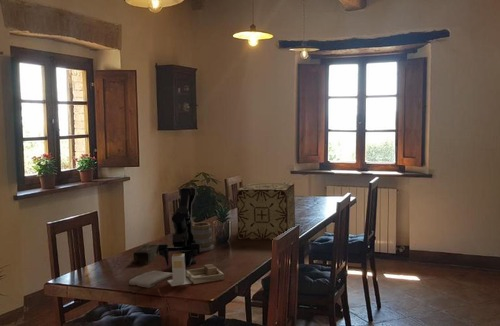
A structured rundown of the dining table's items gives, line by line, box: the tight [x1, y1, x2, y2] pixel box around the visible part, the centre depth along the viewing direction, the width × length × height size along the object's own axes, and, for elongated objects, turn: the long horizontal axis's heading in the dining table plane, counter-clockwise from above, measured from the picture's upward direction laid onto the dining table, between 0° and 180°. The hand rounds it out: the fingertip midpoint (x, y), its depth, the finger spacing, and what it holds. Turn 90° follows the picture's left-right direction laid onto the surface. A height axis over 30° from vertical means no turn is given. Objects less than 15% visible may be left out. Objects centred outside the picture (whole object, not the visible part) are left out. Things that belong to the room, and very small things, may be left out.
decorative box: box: [236, 182, 296, 241], centre depth 317 cm, size 30×30×30 cm
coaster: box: [166, 277, 192, 287], centre depth 226 cm, size 9×9×1 cm
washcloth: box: [128, 270, 173, 289], centre depth 231 cm, size 12×18×3 cm, turn 152°
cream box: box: [171, 253, 187, 284], centre depth 226 cm, size 5×5×12 cm
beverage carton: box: [133, 243, 159, 265], centre depth 267 cm, size 8×19×7 cm, turn 174°
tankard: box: [192, 219, 215, 253], centre depth 289 cm, size 20×13×15 cm, turn 32°
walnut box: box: [203, 263, 218, 276], centre depth 235 cm, size 7×4×4 cm, turn 22°
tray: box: [185, 267, 225, 285], centre depth 231 cm, size 14×14×3 cm
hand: (178, 266), depth 224 cm, fingers open, 9 cm apart
